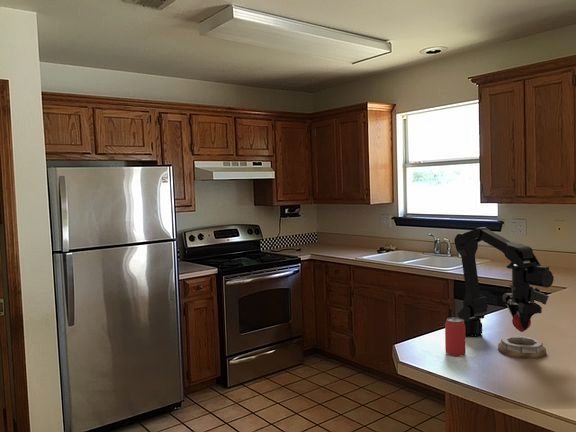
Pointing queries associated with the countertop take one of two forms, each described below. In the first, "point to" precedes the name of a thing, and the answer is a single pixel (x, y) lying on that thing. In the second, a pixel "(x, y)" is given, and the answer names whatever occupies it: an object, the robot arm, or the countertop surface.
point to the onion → (518, 323)
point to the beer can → (455, 337)
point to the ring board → (522, 355)
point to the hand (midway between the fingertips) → (521, 327)
